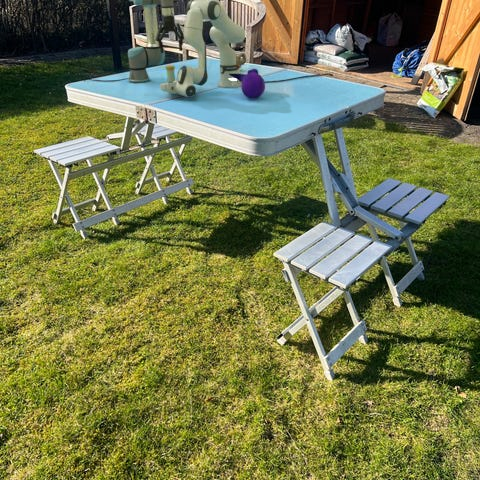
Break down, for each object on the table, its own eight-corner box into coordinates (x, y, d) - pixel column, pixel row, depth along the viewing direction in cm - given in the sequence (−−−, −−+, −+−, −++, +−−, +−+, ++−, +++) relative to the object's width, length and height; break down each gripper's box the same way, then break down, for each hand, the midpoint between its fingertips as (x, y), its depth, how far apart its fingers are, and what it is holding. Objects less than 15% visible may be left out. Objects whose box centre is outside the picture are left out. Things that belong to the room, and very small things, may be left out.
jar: (175, 94, 298) (172, 67, 289) (168, 94, 299) (165, 67, 290) (176, 92, 302) (174, 65, 294) (169, 92, 303) (167, 66, 294)
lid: (173, 69, 290) (173, 66, 289) (165, 69, 290) (164, 66, 289) (175, 68, 295) (175, 65, 294) (167, 68, 295) (166, 65, 294)
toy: (250, 90, 302) (265, 104, 282) (225, 86, 295) (239, 99, 274) (256, 66, 294) (272, 78, 274) (231, 61, 287) (246, 73, 266)
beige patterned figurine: (226, 73, 360) (225, 53, 353) (219, 71, 369) (219, 51, 361) (249, 70, 370) (249, 50, 362) (242, 68, 378) (241, 49, 371)
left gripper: (183, 14, 290) (185, 49, 301) (147, 16, 278) (151, 53, 289) (188, 14, 285) (191, 50, 295) (152, 16, 273) (156, 54, 283)
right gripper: (194, 79, 291) (184, 76, 301) (165, 83, 281) (156, 80, 292) (194, 89, 294) (185, 86, 304) (166, 94, 285) (157, 90, 295)
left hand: (171, 51), depth 292 cm, fingers open, 13 cm apart
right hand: (171, 83), depth 298 cm, fingers open, 7 cm apart
